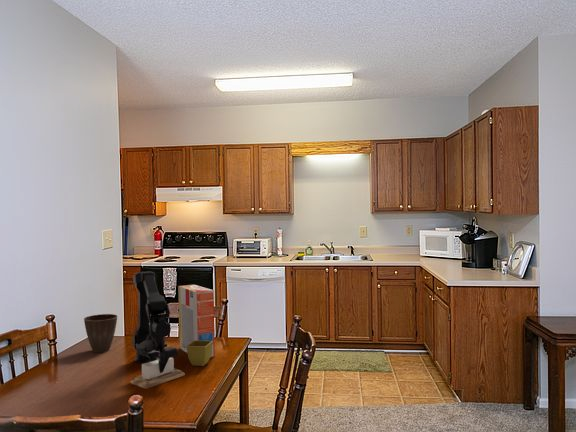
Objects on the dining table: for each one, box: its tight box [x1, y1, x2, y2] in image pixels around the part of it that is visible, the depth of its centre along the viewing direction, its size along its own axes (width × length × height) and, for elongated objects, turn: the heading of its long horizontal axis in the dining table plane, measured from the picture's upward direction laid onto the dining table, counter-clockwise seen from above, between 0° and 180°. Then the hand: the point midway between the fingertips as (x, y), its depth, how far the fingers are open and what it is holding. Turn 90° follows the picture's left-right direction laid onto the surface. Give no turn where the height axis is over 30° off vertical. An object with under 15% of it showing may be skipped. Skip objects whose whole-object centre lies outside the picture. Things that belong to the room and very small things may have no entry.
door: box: [141, 357, 175, 379], centre depth 183 cm, size 4×12×5 cm, turn 142°
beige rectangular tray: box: [129, 368, 186, 389], centre depth 183 cm, size 10×18×3 cm, turn 142°
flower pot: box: [186, 340, 213, 367], centre depth 201 cm, size 9×9×9 cm
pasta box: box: [177, 284, 216, 359], centre depth 219 cm, size 23×8×30 cm, turn 33°
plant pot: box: [83, 313, 118, 353], centre depth 225 cm, size 15×15×16 cm
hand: (157, 371), depth 183 cm, fingers closed on door, 4 cm apart
